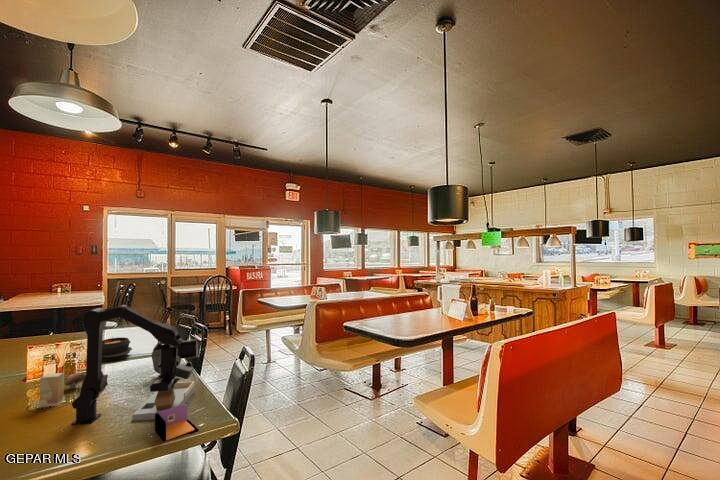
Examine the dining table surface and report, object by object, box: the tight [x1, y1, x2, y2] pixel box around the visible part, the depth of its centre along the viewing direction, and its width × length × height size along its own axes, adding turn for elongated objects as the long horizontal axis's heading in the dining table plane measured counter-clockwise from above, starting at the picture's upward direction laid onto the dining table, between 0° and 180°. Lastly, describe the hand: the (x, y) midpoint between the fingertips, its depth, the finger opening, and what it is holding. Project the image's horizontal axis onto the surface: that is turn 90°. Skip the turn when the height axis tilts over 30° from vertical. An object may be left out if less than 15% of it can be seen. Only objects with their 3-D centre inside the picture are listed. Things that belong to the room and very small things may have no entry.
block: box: [155, 389, 175, 410], centre depth 129 cm, size 5×5×5 cm
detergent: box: [151, 322, 182, 375], centre depth 172 cm, size 13×7×25 cm, turn 124°
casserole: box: [102, 337, 133, 359], centre depth 204 cm, size 25×19×8 cm
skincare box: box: [38, 372, 65, 408], centre depth 138 cm, size 6×4×12 cm
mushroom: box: [64, 372, 86, 390], centre depth 155 cm, size 8×8×6 cm
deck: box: [131, 380, 196, 421], centre depth 137 cm, size 24×14×4 cm, turn 9°
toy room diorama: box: [154, 403, 200, 442], centre depth 117 cm, size 12×12×7 cm
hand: (168, 400), depth 133 cm, fingers closed
